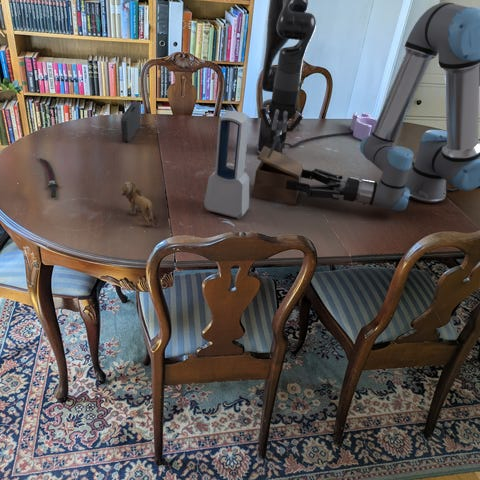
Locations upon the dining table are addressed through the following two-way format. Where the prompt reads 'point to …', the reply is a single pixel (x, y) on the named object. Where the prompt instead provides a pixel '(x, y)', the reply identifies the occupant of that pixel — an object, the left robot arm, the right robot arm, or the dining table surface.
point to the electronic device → (229, 170)
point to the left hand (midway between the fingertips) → (277, 141)
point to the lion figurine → (137, 201)
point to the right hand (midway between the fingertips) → (288, 177)
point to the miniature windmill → (299, 99)
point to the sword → (52, 181)
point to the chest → (274, 184)
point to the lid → (280, 159)
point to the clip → (362, 125)
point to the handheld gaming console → (130, 121)
